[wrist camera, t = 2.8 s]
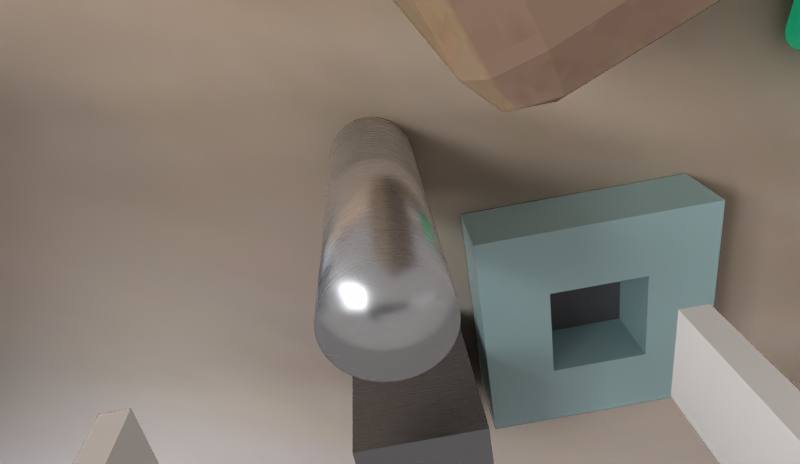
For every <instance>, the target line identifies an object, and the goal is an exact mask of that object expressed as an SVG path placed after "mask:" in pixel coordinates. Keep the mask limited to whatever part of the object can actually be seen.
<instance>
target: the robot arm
mask: <svg viewBox="0 0 800 464" xmlns="http://www.w3.org/2000/svg"><path fill="white" fill-rule="evenodd" d="M671 397H672V399H673V400H674V401H675V403H676V404H677V406H678V407H679V408H680V410H681V411H682V412H683V414H684V415H685V416H686V418H687V419H688V421H689V422H690V423H691V425H692V426H693V427H694V429H695V430H696V432H697V433H698V434H699V436H700V437H701V438H702V440H703V441H704V443H705V444H706V445H707V447H708V448H709V449H710V451H711V452H712V454H713V455H714V456H715V458H716V459H717V460H718V462H719V463H720V464H800V391H799V390H798V389H797V388H796V387H795V386H794V385H793V384H792V383H791V382H790V381H789V380H788V379H787V378H786V377H785V376H784V375H783V374H782V373H781V372H780V371H779V370H778V369H776V368H775V367H774V366H773V365H772V364H771V363H770V362H769V361H768V360H767V359H766V358H765V357H764V356H763V355H762V354H761V353H760V352H759V351H758V350H757V349H756V348H755V347H754V346H753V345H752V344H751V343H750V342H749V341H748V340H747V339H746V338H745V337H744V336H743V335H742V334H741V333H740V332H738V331H737V330H736V329H735V328H734V327H733V326H732V325H731V324H730V323H729V322H728V321H727V320H726V319H725V318H724V317H723V316H722V315H721V314H720V313H719V312H718V311H717V310H716V309H715V308H714V307H713V306H712V305H711V304H707V305H701V306H696V307H690V308H685V309H679V310H678V321H677V332H676V343H675V354H674V365H673V376H672V387H671ZM73 464H159V463H158V461H157V459H156V457H155V455H154V453H153V451H152V449H151V447H150V445H149V443H148V441H147V439H146V437H145V435H144V433H143V431H142V429H141V427H140V425H139V423H138V421H137V419H136V417H135V415H134V413H133V411H132V409H131V408H130V409H124V410H119V411H113V412H108V413H102V414H98V416H97V418H96V420H95V422H94V424H93V426H92V428H91V430H90V432H89V433H88V435H87V437H86V439H85V441H84V443H83V445H82V447H81V449H80V451H79V452H78V454H77V456H76V458H75V460H74V462H73Z"/></svg>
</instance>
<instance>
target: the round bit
mask: <svg viewBox="0 0 800 464" xmlns="http://www.w3.org/2000/svg"><path fill="white" fill-rule="evenodd" d="M460 321H461V317H460V309H459V304H458V301H457V298H456V294H455V291H454V288H453V284H452V281H451V278H450V274H449V271H448V268H447V264H446V261H445V258H444V254H443V251H442V248H441V245H440V241H439V238H438V235H437V231H436V228H435V225H434V221H433V218H432V215H431V211H430V208H429V205H428V201H427V198H426V195H425V191H424V188H423V185H422V181H421V178H420V175H419V171H418V168H417V165H416V161H415V158H414V155H413V152H412V148H411V145H410V142H409V140H408V138H407V136H406V135H405V133H404V132H403V131H402V130H401V129H400V128H399V127H398V126H397V125H396V124H394V123H392V122H391V121H388V120H386V119H383V118H378V117H365V118H361V119H357V120H355V121H353V122H351V123H349V124H348V125H346V126H345V127H344V128H343V129H342V130H341V131H340V132H339V133H338V135H337V136H336V138H335V140H334V143H333V146H332V150H331V160H330V170H329V180H328V190H327V200H326V210H325V220H324V230H323V240H322V250H321V260H320V270H319V280H318V290H317V300H316V310H315V320H314V329H315V335H316V339H317V342H318V344H319V346H320V348H321V350H322V352H323V353H324V354H325V356H326V357H327V358H328V359H329V360H330V361H331V362H332V363H333V364H334V365H335V366H336V367H338V368H339V369H340V370H342V371H344V372H346V373H347V374H350V375H352V376H354V377H357V378H361V379H364V380H369V381H378V382H392V381H400V380H404V379H408V378H411V377H414V376H417V375H419V374H421V373H424V372H426V371H427V370H429V369H431V368H432V367H434V366H435V365H436V364H437V363H439V362H440V361H441V360H442V359H443V358H444V357H445V356H446V355H447V354H448V352H449V351H450V350H451V348H452V346H453V345H454V343H455V341H456V339H457V336H458V333H459V329H460Z"/></svg>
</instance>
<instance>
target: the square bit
mask: <svg viewBox="0 0 800 464" xmlns="http://www.w3.org/2000/svg"><path fill="white" fill-rule="evenodd" d="M353 456H354V459H355V463H356V464H494V463H493V455H492V447H491V440H490V432H489V426H488V423H487V419H486V416H485V412H484V409H483V405H482V402H481V398H480V395H479V392H478V388H477V385H476V381H475V378H474V374H473V371H472V367H471V364H470V360H469V357H468V353H467V350H466V346H465V343H464V339H463V336H462V332H461V329H459V333H458V336H457V339H456V341H455V343H454V345H453V346H452V348H451V350H450V351H449V352H448V354H447V355H446V356H445V357H444V358H443V359H442V360H441V361H440V362H439V363H437V364H436V365H435V366H434V367H432V368H431V369H429V370H427V371H426V372H424V373H421V374H419V375H417V376H414V377H411V378H408V379H404V380H400V381H392V382H378V381H369V380H364V379H361V378H357V377H354V376H353Z"/></svg>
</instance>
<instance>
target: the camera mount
mask: <svg viewBox="0 0 800 464" xmlns="http://www.w3.org/2000/svg"><path fill="white" fill-rule="evenodd" d="M785 37H786V41H787V43H788V44H789V45H790V46H791V47H792V48H794V49H797V50H800V0H794V2H793V5H792V8H791V11H790V15H789V18H788V21H787V25H786V29H785Z"/></svg>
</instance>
